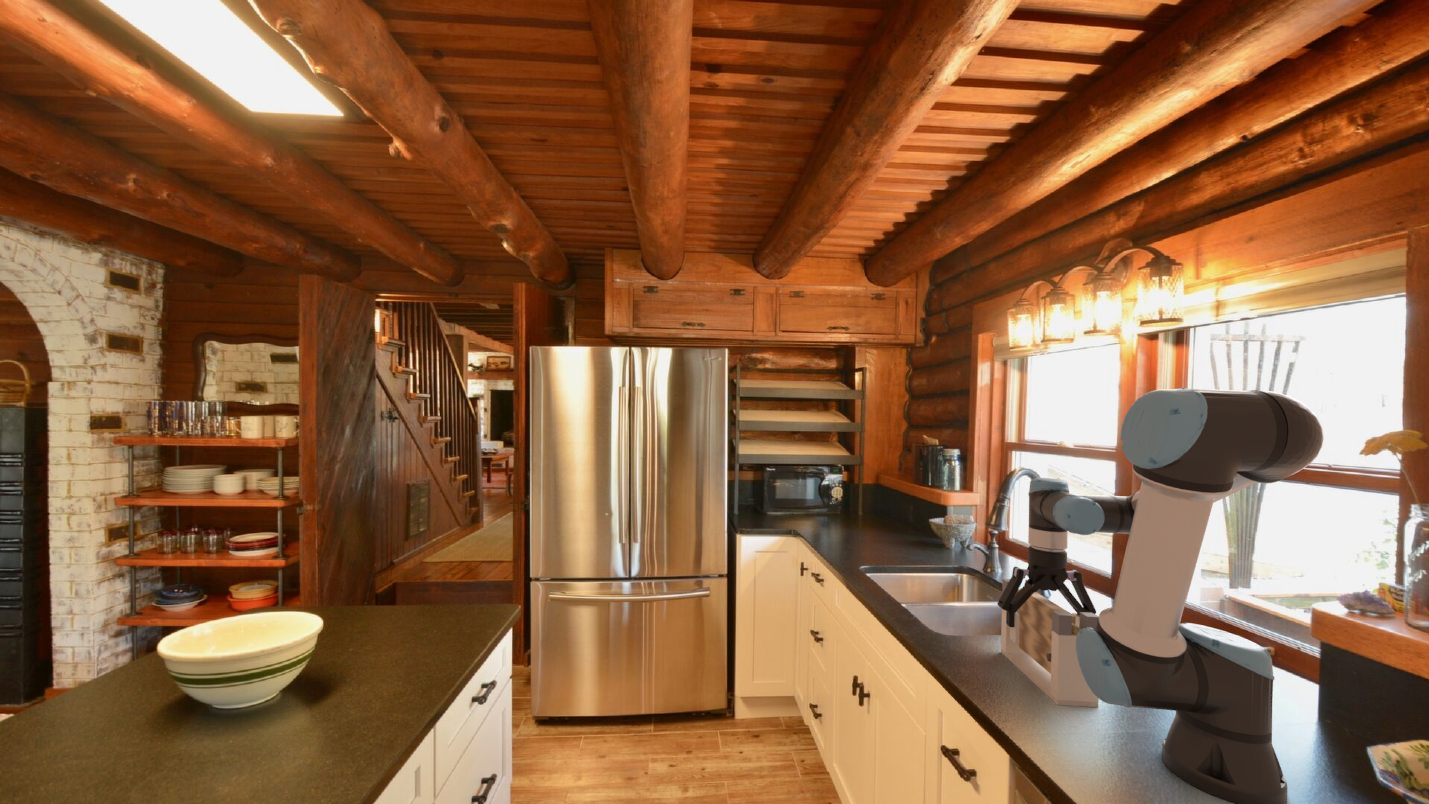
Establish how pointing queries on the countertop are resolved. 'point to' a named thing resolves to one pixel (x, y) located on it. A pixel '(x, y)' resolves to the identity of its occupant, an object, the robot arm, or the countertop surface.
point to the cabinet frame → (1054, 659)
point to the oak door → (1039, 628)
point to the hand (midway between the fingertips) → (1045, 643)
